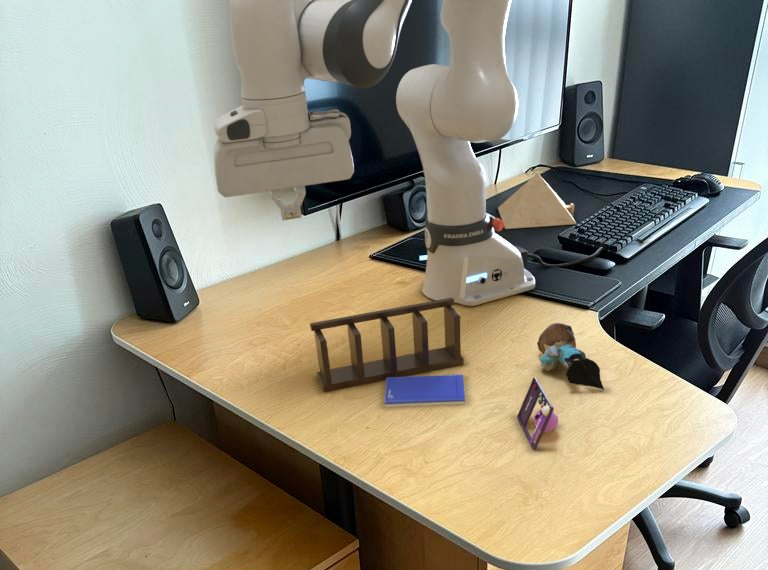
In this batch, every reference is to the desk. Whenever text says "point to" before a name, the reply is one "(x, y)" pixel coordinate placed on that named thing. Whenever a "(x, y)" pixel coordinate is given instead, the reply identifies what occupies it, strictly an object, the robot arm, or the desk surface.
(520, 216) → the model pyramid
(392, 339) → the letter rack
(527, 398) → the purple toy package
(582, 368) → the figurine
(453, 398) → the hard drive
